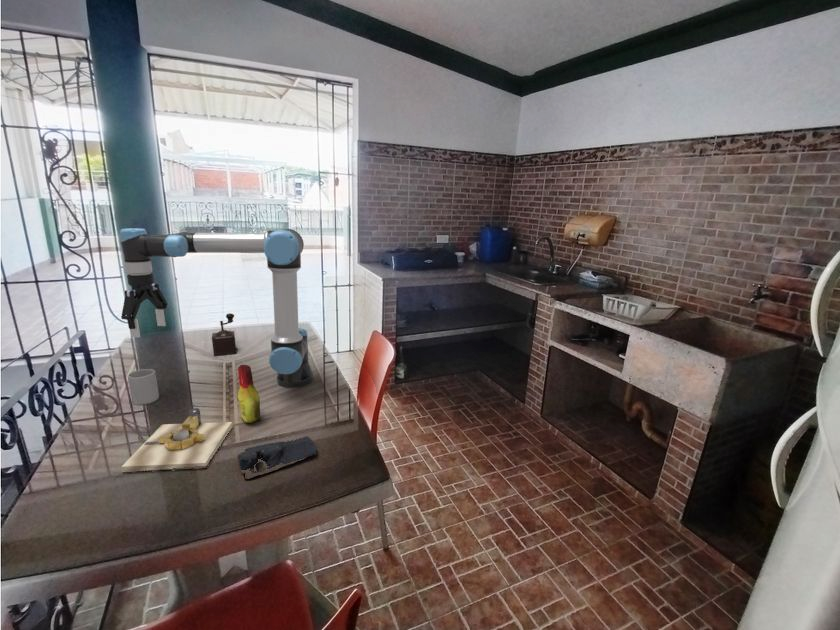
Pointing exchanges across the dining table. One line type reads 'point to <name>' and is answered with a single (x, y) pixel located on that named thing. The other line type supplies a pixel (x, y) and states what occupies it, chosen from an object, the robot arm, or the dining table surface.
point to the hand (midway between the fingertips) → (149, 331)
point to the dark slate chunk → (277, 453)
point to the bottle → (248, 395)
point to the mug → (143, 386)
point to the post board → (197, 454)
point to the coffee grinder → (224, 340)
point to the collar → (189, 425)
